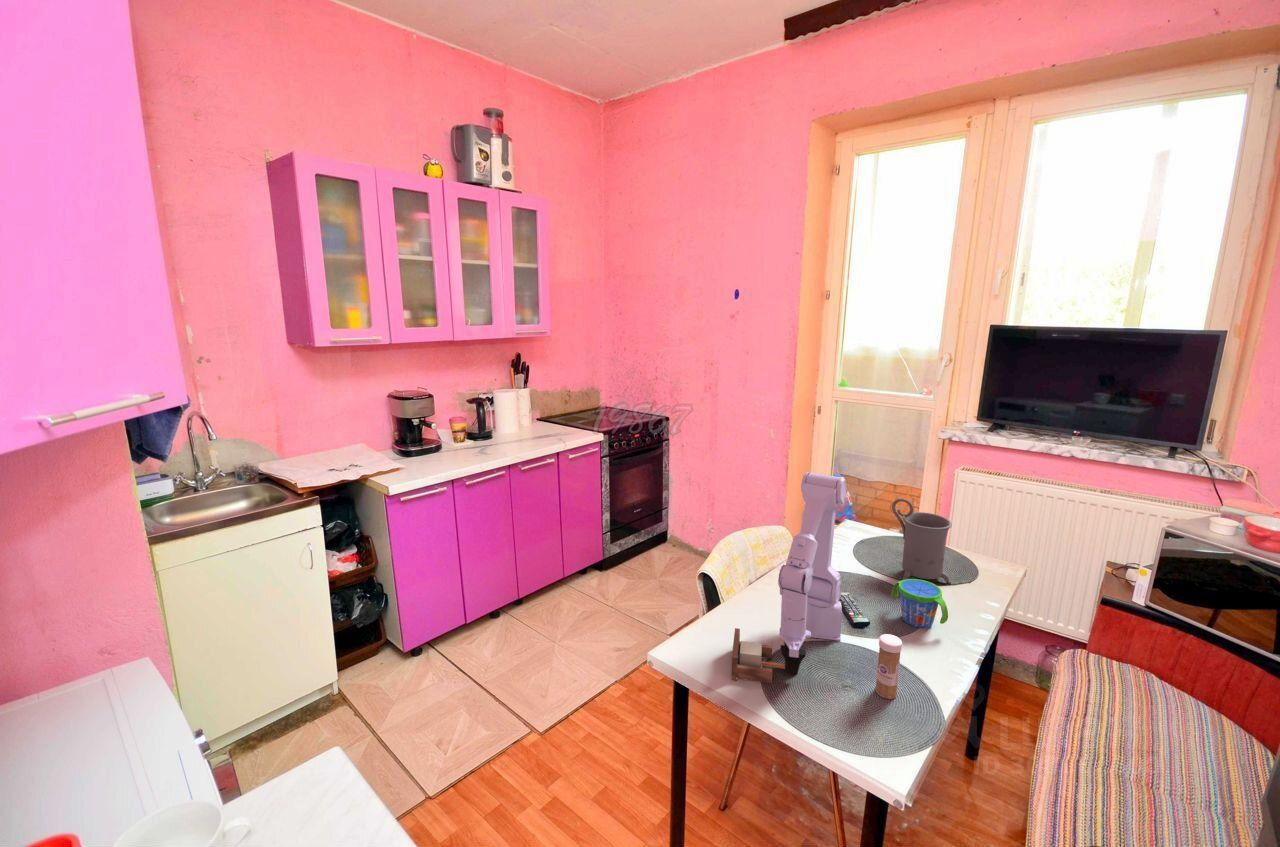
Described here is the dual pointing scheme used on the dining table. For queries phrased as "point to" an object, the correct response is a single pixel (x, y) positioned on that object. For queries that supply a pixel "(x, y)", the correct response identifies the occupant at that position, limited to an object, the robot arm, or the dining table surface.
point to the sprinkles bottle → (888, 666)
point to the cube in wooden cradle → (750, 671)
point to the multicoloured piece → (755, 656)
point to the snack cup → (920, 602)
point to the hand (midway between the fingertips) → (791, 665)
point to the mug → (923, 543)
